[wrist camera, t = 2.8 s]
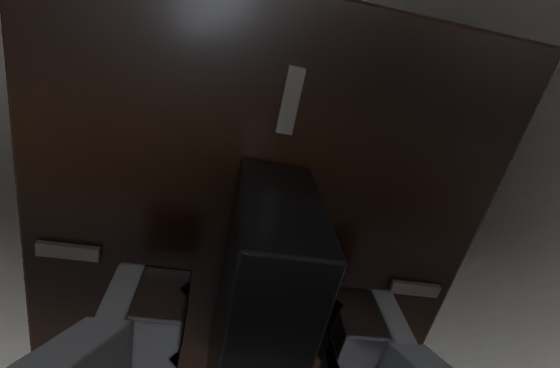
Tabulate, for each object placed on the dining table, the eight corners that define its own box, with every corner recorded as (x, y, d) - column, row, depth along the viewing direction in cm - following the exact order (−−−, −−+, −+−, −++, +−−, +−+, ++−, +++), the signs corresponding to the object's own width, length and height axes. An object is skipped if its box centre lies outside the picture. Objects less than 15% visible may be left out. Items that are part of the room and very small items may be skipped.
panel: (64, -62, 9) (-17, -88, 6) (487, 34, 11) (573, 49, 8) (74, 343, 14) (33, 428, 12) (356, 363, 16) (380, 442, 13)
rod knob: (241, 156, 9) (239, 261, 5) (311, 167, 9) (354, 274, 5) (207, 352, 11) (192, 509, 8) (263, 356, 11) (272, 510, 8)
